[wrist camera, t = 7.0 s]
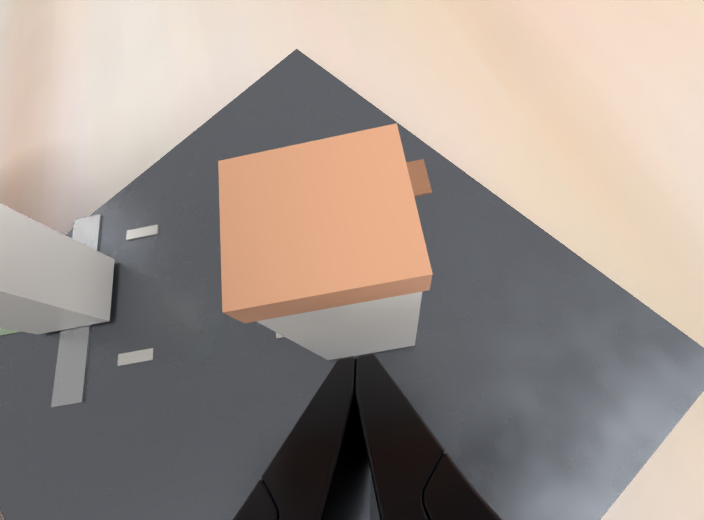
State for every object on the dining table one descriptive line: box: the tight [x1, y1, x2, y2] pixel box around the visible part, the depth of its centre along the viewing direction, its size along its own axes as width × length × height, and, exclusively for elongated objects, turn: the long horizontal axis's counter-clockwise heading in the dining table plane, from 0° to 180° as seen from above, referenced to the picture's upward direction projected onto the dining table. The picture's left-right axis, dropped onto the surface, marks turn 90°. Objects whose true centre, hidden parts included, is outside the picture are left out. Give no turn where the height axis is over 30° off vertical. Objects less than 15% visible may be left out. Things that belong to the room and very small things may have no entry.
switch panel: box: [0, 49, 704, 520], centre depth 16 cm, size 24×24×1 cm
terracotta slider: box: [218, 123, 433, 360], centre depth 12 cm, size 3×4×9 cm
